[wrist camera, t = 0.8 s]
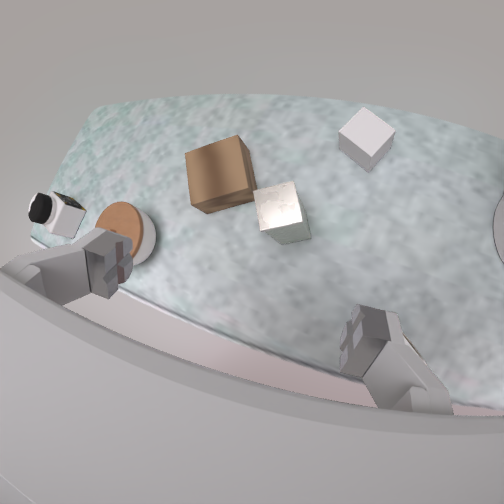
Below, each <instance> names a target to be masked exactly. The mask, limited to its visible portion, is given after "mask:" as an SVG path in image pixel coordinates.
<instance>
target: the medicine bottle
mask: <svg viewBox="0 0 504 504" xmlns="http://www.w3.org/2000/svg"><path fill="white" fill-rule="evenodd" d="M28 213H29V218H30V220H31V221H32V222H36V223H40V224H43V225H44V226H45V227H46V228H47V230H48V231H49V232H50V233H51V234H55V235H60V236H64V237H69V238H74V237H75V234H76V232H77V230H78V228H79V226H80V223H81V221H82V219H83V217H84V215H85V213H86V210H85V209H84V208H83V207H82V206H81V205H80V204H79V203H77V202H76V201H75V200H74V199H73V198H71V197H68V196H65V195H62V194H59V193H56V192H53V191H51V193H50V195H49V196H48V195H45V194H42V193H37V194H36V195H35V196H34V197H33V198H32V200H31V202H30V205H29V210H28Z"/></svg>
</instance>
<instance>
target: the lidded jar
mask: <svg viewBox="0 0 504 504" xmlns="http://www.w3.org/2000/svg"><path fill="white" fill-rule="evenodd" d="M96 227H100V228H103V229H106V230H109V231H112V232H115V233H118V234H121V235H124V236H127V237H130V238H131V239H132V242H133V249H132V250H131V252H130V255H131V256H132V258H133V266H135V265H138V264H140V263H142V262H143V261H144V260H146V259H147V258H148V257H149V255H150V254H151V253H152V251H153V249H154V246H155V242H156V231H155V227H154V224H153V222H152V221H151V219H150V218H149V216H148V215H147V214H146V213H145V212H143V211H142V210H140V209H139V208H137V207H134V206H133V205H131V204H129V203H126V202H116V203H113V204H111V205H110V206H108V207H107V208H106V209H105V210H104V211H103V212H102V214H101V215H100V217H99V219H98V221H97V223H96V226H95V228H96Z"/></svg>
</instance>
